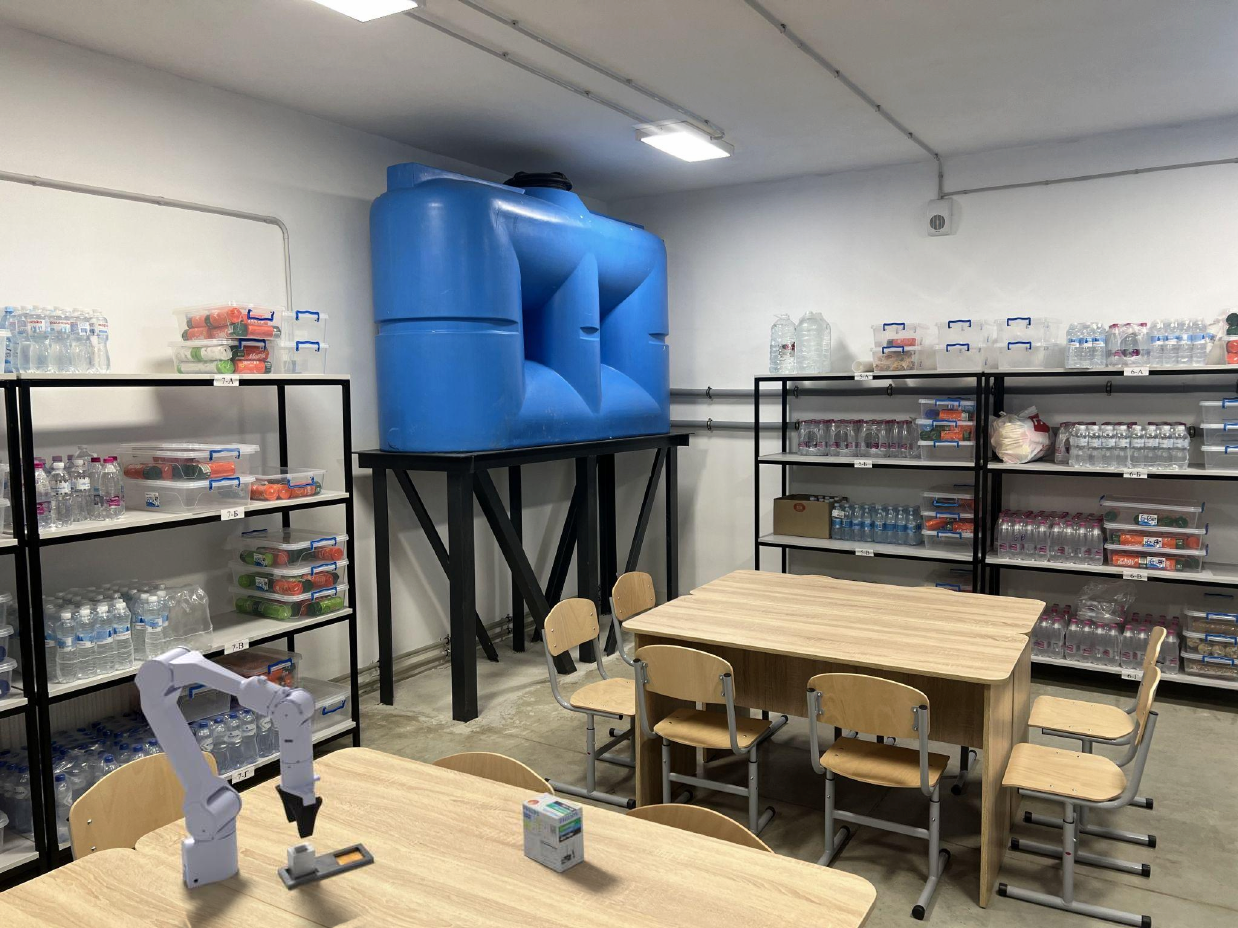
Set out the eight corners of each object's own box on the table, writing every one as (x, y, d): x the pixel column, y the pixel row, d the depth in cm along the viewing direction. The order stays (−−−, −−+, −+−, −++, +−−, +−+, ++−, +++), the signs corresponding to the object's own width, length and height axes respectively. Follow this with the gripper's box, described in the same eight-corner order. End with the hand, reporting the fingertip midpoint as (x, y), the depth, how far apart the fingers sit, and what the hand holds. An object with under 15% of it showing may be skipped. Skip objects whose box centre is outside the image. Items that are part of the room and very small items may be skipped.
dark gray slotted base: (288, 894, 163) (288, 884, 163) (278, 877, 169) (277, 868, 169) (374, 866, 172) (373, 856, 172) (361, 851, 178) (361, 842, 178)
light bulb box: (585, 860, 173) (584, 806, 172) (560, 874, 168) (558, 818, 167) (547, 842, 180) (546, 790, 179) (522, 855, 175) (520, 801, 175)
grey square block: (294, 882, 165) (293, 855, 165) (288, 873, 168) (286, 846, 168) (316, 875, 167) (315, 848, 167) (309, 866, 171) (308, 840, 170)
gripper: (330, 764, 163) (334, 836, 164) (306, 740, 174) (309, 808, 175) (291, 774, 159) (294, 848, 160) (268, 749, 170) (272, 818, 171)
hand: (300, 828), depth 167 cm, fingers open, 7 cm apart
